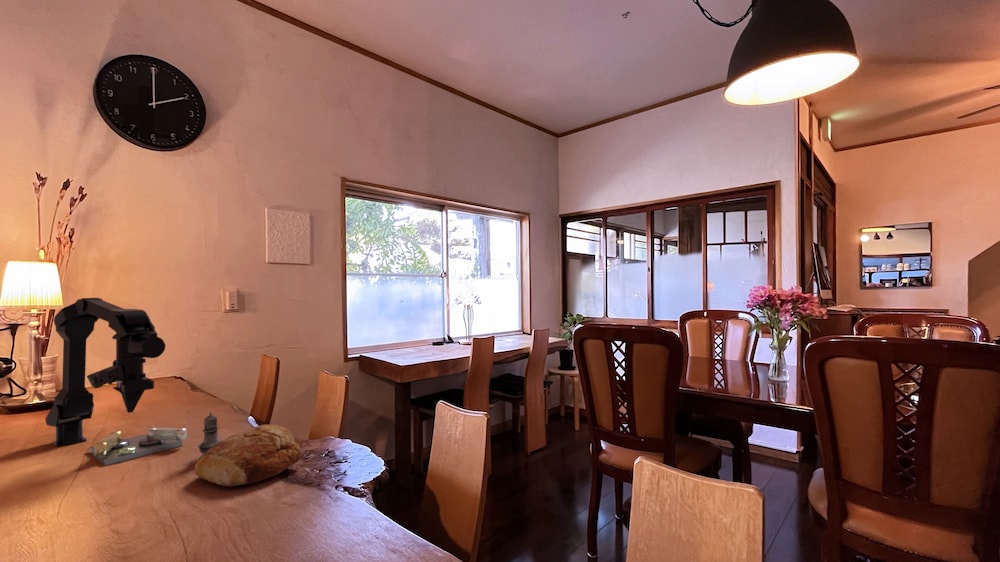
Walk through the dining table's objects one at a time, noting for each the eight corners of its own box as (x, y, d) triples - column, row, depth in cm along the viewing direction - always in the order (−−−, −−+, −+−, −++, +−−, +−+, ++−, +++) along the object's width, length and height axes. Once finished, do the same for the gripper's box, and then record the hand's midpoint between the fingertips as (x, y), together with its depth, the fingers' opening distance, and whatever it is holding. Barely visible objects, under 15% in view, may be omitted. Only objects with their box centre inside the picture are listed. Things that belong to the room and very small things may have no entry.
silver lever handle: (132, 445, 123) (132, 432, 123) (151, 437, 129) (151, 425, 129) (176, 446, 122) (176, 432, 122) (193, 438, 128) (193, 425, 128)
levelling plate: (89, 452, 122) (89, 443, 122) (163, 434, 136) (163, 426, 136) (104, 466, 113) (104, 456, 113) (182, 445, 126) (182, 436, 126)
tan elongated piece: (106, 443, 124) (106, 430, 124) (132, 440, 127) (132, 427, 127) (83, 460, 112) (83, 446, 112) (113, 457, 114) (113, 442, 114)
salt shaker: (211, 461, 115) (210, 416, 115) (192, 460, 116) (191, 415, 116) (229, 453, 120) (228, 409, 120) (211, 451, 122) (210, 408, 122)
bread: (304, 463, 113) (304, 424, 113) (240, 495, 96) (239, 450, 96) (248, 453, 121) (247, 417, 121) (179, 481, 104) (178, 439, 104)
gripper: (82, 356, 119) (82, 413, 119) (99, 364, 108) (99, 427, 108) (134, 350, 128) (134, 403, 128) (154, 357, 117) (154, 415, 117)
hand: (130, 412), depth 120 cm, fingers closed
